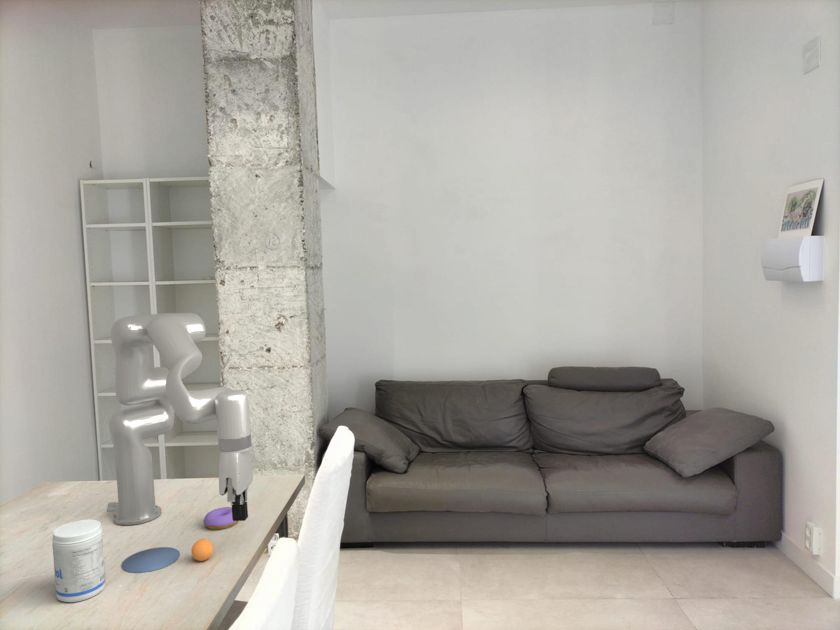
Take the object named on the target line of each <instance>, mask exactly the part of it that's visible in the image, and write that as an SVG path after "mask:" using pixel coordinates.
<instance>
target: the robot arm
mask: <svg viewBox="0 0 840 630" xmlns="http://www.w3.org/2000/svg"><path fill="white" fill-rule="evenodd" d="M206 334H207V327H206V324H205V322H204V320H203V319H202V318H201V316H199V315H198V314H196V313H194V312H165V313H163V312H162V313H151V314H138V315H137V314H136V315H129V316H123V317H121V318H119V319H116V320H115V321H114V322H113V324H112V326H111V330H110V340H111V344H112V345H111V346H112V348H113V350H114V355H115V389H114V390H115V397H116V400H117V402H118V403H119V404H120V405H124V406H132V405H138V406H132V407H128V408H124V409H121V410H118V411H116V412H114V413H113V414H112V415H111V416H110V418H109V420H108V430H109V433H110V437H111V442H112V446H113V453H114V459H115V461H114V462H115V463H114V464H115V473H116V474H115V475H116V487H117V488H116V489H117V500H118V501H117V502H114V501H113V502H110V501H109V502H108V503H107V506H106V507H107V508H106V512H111V513H112V512H114V513H115V514H114V516H113V518H112V519H113V523H114V524H116V525H118V526H133V525H139V524H144V523H149V522H150V521H153V520H155V519H157V518H159V517H160V516H161V514H162V513H163V512H162V508H161V507H160V506H158V505H156V495H155V483H154V482H155V481H154V480H155V479H154V467H153V466H154V465H153V455H152V452H151V450H150V449H149V448H148V447H147V445H145V444H144V442H143V440H146V439H149V438H153V437H158V436H161V435H165V434H168V433H169V432H170V431H171V430H172V429H173V427H174V424H175V414H176V416H177V418H178V419H180V421H182V423H184V424H187V425H196V424H197V425H198V424H202V423H206V422H210V421H211V422H212V421H215V420H216V421H215V422H216V434H217V447H218V453H219V457H218V489H219V490H218V491H219V495H220V496H221V497H223V496H225V495H226V494H227V500H226V501H227V503H230V505H231V508H232V518H233V521H238V522H243V521H244V522H245V521H246V520H247V519H248V518H249V512H248V511H249V510H248V489H249V487H250V486H251V484H253V481H254V476H253V475H254V473H253V471H254V470H253V462H252V461H253V460H252V455H251V449H252V448H253V446H252V444H253V443H252V434H251V431H252V430H251V418H250V417H251V416H250V404H249V395H248V393H247V392H246V391H244V390H236V389H232V388H230V387H227V386H219V387H214V388H207V389H204V390H202V389H201V390H198V391H197V390H196V391H193V392H189V391H188V389H187V388H186V386H185V384H184V382H183V379H184V378H186V377H188V376H189V375H190V374H191V373H193V372H194V371H195V370H197V369H198V367H199V366H200V365H201V362H202V361H203V354H202V352H201V350H200V349H199V347H198V346H197V344H199V343H201V342H202V341H203V340H204V339H205V337H206ZM148 346H154V348H155V349H156V351H157V352H158V353H159V355H160V357H161V358H162V359H163V361H164V363H165V365H166V366H167V368H166V367H164V366H154V367H150V355H149V352H148V350H147V349H146V348H145V347H148ZM150 402H152V403H150ZM145 403H149V404H145ZM139 404H144V405H139Z"/></svg>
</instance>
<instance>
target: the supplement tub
mask: <svg viewBox="0 0 840 630" xmlns="http://www.w3.org/2000/svg"><path fill="white" fill-rule="evenodd" d="M103 537H104V536H103V527H102V523H101V522H100V521H99V520H96V519H80V520H74V521H71V522H67V523H64V524H61V525H60V526H58V527H56V528H55V529H54V530H53V531H52V539H51V540H52V554H53V555H52V556H53V571H54V583H55V586H54V587H55V596H56V599H58V600H59V601H61V602H65V603H78V602H81V601H85V600H88V599H91V598H93V597H96V596H97V595H98V594H100V593H101V592H102V591H103V590H104V589H105V587H106V572H105V571H106V570H105V555H104V538H103Z"/></svg>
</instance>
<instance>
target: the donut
mask: <svg viewBox="0 0 840 630" xmlns="http://www.w3.org/2000/svg"><path fill="white" fill-rule="evenodd" d="M238 522H239V521H233V518H232V506H230V507H229V506H226V507H224V506H223V507H219V508H215V509H212V510H211V511H209V512H207V513H206V514H205V516H204V518H203V523H204V524H203V525H204V526H205V527H206V528H207V529H209V530H211V531H220V530H227V529H229V527H230V528H233V526H235V525H236V524H237V523H238ZM226 528H227V529H226Z"/></svg>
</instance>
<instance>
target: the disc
mask: <svg viewBox="0 0 840 630" xmlns="http://www.w3.org/2000/svg"><path fill="white" fill-rule="evenodd" d="M180 556H181V553H180V551H179V549H177V548H174V547H171V546H169V547H167V546H163V547H152V548H148V549H144V550H140V551H138V552H135V553H133V554H131V555H129V556H128V557H126V558H125V559H124V560H123V561H122V562H121V569H122V570H123V571H125V572H127V573H133V574H134V573H135V574H137V573H138V574H139V573H140V574H141V573H148V572H149V573H150V572H154V571H157V570H158V571H159V570H161V569H164V568H167V567H168V566H170V565H172V564H174V563H176V561H178V560H179V559H180Z"/></svg>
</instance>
